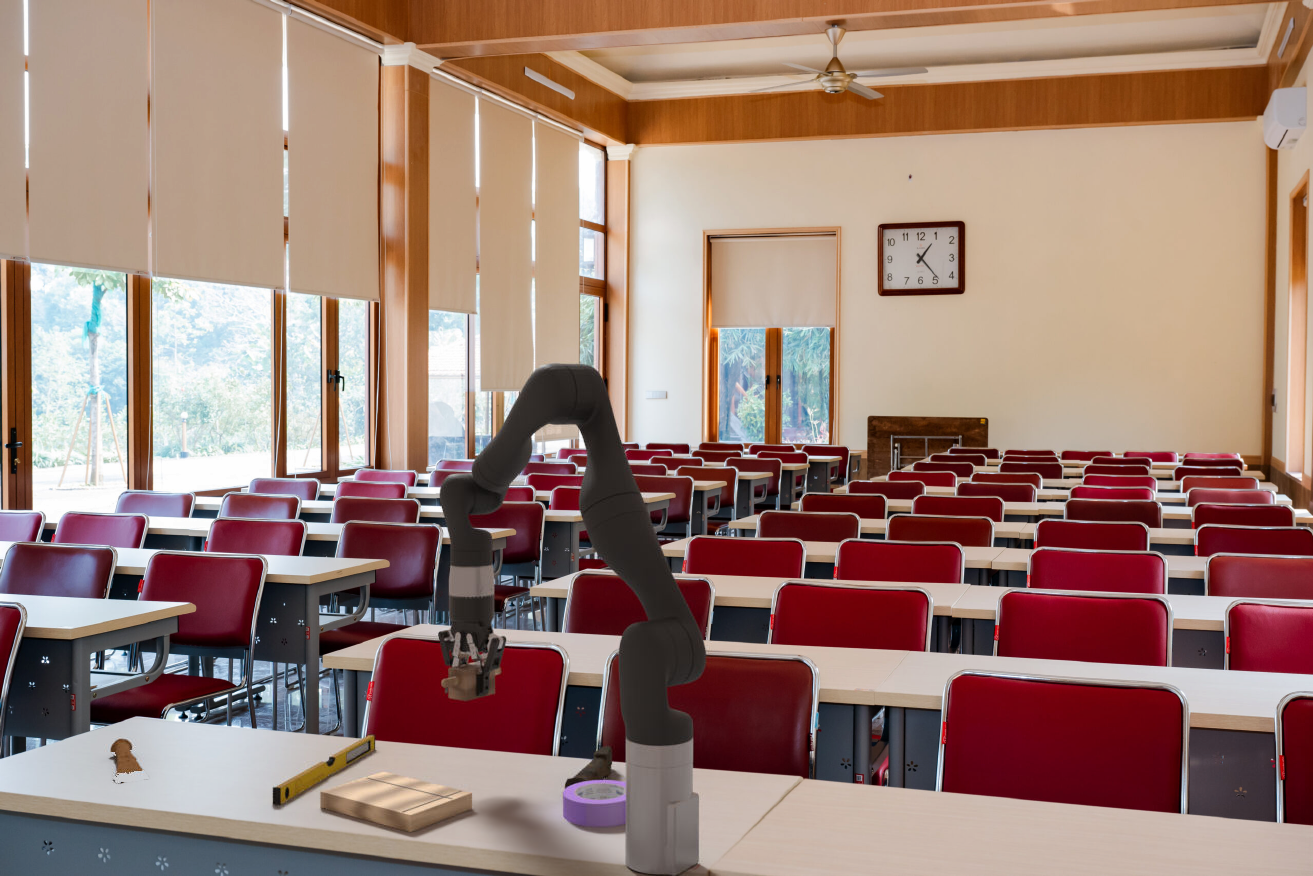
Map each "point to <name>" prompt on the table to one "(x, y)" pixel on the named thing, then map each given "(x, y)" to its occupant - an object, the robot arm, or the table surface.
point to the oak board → (396, 801)
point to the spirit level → (322, 770)
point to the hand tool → (594, 767)
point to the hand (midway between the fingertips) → (471, 693)
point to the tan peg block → (466, 682)
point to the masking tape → (595, 803)
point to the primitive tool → (125, 757)
